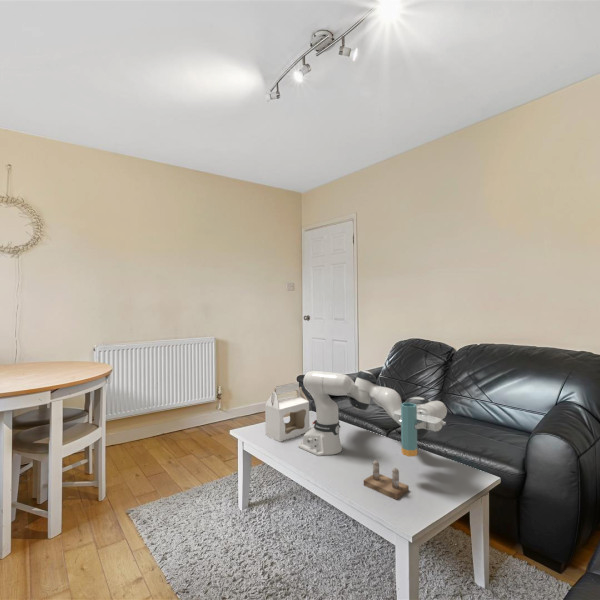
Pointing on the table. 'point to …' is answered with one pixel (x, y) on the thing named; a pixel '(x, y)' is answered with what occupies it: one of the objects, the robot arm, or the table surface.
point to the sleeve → (408, 429)
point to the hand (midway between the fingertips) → (407, 424)
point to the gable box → (278, 409)
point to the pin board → (386, 483)
